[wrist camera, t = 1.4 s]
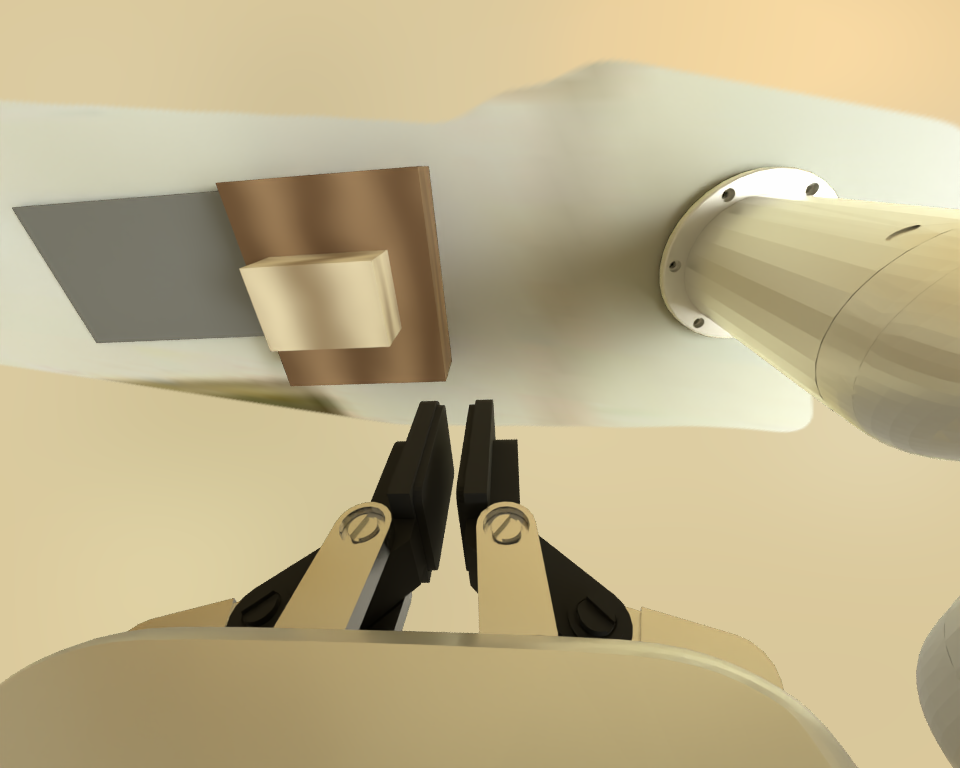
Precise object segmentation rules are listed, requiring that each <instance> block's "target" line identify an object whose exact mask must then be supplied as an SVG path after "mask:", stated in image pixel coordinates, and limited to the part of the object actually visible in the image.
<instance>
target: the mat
mask: <svg viewBox="0 0 960 768" xmlns="http://www.w3.org/2000/svg"><path fill="white" fill-rule="evenodd" d="M12 209H13V211H14V212H15V214H16V215H17V217H18V219H19V220H20V222H21V223H22V225H23V226H24V228H25V230H26V231H27V233H28V234H29V236H30V238H31V239H32V241H33V242H34V244H35V246H36V247H37V249H38V250H39V252H40V254H41V255H42V257H43V258H44V260H45V262H46V263H47V265H48V266H49V268H50V270H51V271H52V273H53V274H54V276H55V278H56V279H57V281H58V282H59V284H60V285H61V287H62V289H63V290H64V292H65V293H66V295H67V297H68V298H69V300H70V301H71V303H72V305H73V306H74V308H75V309H76V311H77V313H78V314H79V316H80V317H81V319H82V321H83V322H84V324H85V325H86V327H87V329H88V330H89V332H90V333H91V335H92V337H93V338H94V340H95V341H96V343H111V342H134V341H157V340H180V339H203V338H226V337H249V336H265V335H264V333H263V330H262V327H261V325H260V322H259V320H258V317H257V314H256V312H255V309H254V307H253V304H252V301H251V299H250V296H249V293H248V291H247V288H246V286H245V283H244V280H243V278H242V275H241V272H240V270H239V268H242V267H245V266H246V264H245V261H244V259H243V256H242V253H241V251H240V248H239V245H238V242H237V240H236V237H235V234H234V232H233V229H232V226H231V224H230V221H229V218H228V215H227V213H226V210H225V207H224V205H223V202H222V199H221V197H220V194H219V191H213V192H200V193H188V194H175V195H163V196H150V197H138V198H125V199H113V200H100V201H88V202H75V203H63V204H50V205H38V206H25V207H13V208H12Z"/></svg>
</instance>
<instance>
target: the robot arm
mask: <svg viewBox="0 0 960 768" xmlns="http://www.w3.org/2000/svg"><path fill="white" fill-rule="evenodd" d="M805 189H806V190H805ZM724 191H725V196H724V197H723V198H722V194H723V192H724ZM673 261H674V264H673V266H671V267H669V266H670V264H671V263H672V262H673ZM660 288H661V293H662V297H663V299H664V302H665V304H666V306H667V308H668V309H669V311H670V312H671V313H672V315H673V316H674V317H675V318H676V319H677V320H678V321H679V322H680V323H682V324H683V325H684V326H685V327H687V328H688V329H690V330H691V331H693V332H696V333H699V334H701V335H704V336H708V337H715V338H736V339H737V340H738V341H740V342H741V343H742V344H744V345H745V346H746V347H748V348H749V349H750V350H752V351H753V352H754V353H756V354H757V355H758V356H760V357H761V358H762V359H764V360H765V361H766V362H768V363H769V364H770V365H772V366H773V367H774V368H776V369H777V370H778V371H780V372H781V373H782V374H784V375H785V376H786V377H788V378H789V379H790V380H792V381H793V382H794V383H796V384H797V385H798V386H800V387H801V388H802V389H804V390H805V391H806V392H808V393H809V394H810V395H812V396H813V397H814V398H816V399H817V400H819V401H820V402H821V403H823V404H824V405H825V406H827V407H828V408H829V409H831V410H832V411H834V412H835V413H837V414H838V415H840V416H841V417H842V418H844V419H845V420H846V421H848V422H849V423H850V424H852V425H853V426H854V427H856V428H857V429H859V430H860V431H862V432H864V433H865V434H867V435H868V436H870V437H872V438H874V439H876V440H878V441H879V442H881V443H884V444H886V445H888V446H890V447H894V448H896V449H899V450H902V451H905V452H907V453H910V454H914V455H919V456H924V457H929V458H934V459H940V460H950V461H960V210H959V209H948V208H937V207H927V206H916V205H905V204H895V203H884V202H873V201H863V200H852V199H842V198H838V196H837V194H836V192H835V190H834V189H833V188H832V187H831V186H830V185H829V184H828V183H827V182H826V181H825V180H824V179H822V178H821V177H819V176H817V175H815V174H814V173H812V172H810V171H806V170H802V169H798V168H795V167H767V168H758V169H755V170H751V171H747V172H743V173H740V174H738V175H736V176H734V177H732V178H730V179H727V180H725V181H723V182H722V183H720V184H719V185H717V186H715V187H714V188H712V189H711V190H709V191H708V192H706V193H705V194H704V195H703V196H702V197H701V198H700V199H699V200H698V201H696V202H695V203H694V204H693V205H692V206H691V207H690V208H689V209H688V211H687V212H686V213H685V214H684V216H683V217H682V218H681V219H680V220H679V222H678V223H677V225H676V227H675V228H674V230H673V232H672V233H671V235H670V237H669V239H668V242H667V244H666V247H665V249H664V252H663V255H662V260H661V265H660ZM696 319H697V320H696ZM695 320H696V321H695ZM518 470H519V469H518V444H517V440H495V423H494V407H493V400H476V402H475V404H474V405H469V410H468V416H467V423H466V429H465V436H464V442H463V448H462V455H461V461H460V468H459V474H458V480H457V489H456V499H457V507H458V515H459V522H460V528H461V536H462V543H463V550H464V557H465V564H466V570H467V571H469V578H470V584H471V586H472V587H473V589H474V590H475V591H476V592H477V593H478V602H479V603H478V604H479V633H450V632H449V633H448V632H415V631H402V629H403V626H404V623H405V619H406V616H407V613H408V610H409V606H410V603H411V598H412V591H413V590H415V589H416V588H417V587H418V586H419V585H421V583H429V582H430V577H431V572H432V570H438V567H439V561H440V556H441V549H442V544H443V538H444V532H445V526H446V521H447V515H448V509H449V503H450V496H451V491H452V485H453V479H454V467H453V459H452V452H451V445H450V438H449V430H448V423H447V415H446V408H445V406H444V405H439V402H438V401H422V402H420V404H419V407H418V410H417V413H416V415H415V418H414V421H413V423H412V426H411V429H410V432H409V434H408V437H407V440H406V441H404V442H403V441H402V442H401V441H400V442H396V443H395V444H394V446H393V448H392V451H391V453H390V456H389V458H388V460H387V463H386V465H385V468H384V470H383V473H382V475H381V478H380V480H379V483H378V485H377V488H376V490H375V493H374V495H373V498H372V500H371V502H367V503H366V502H365V503H362V504H358V505H356V506H354V507H352V508H350V509H348V510H347V511H346V512H344V513H343V514H342V515H341V516H340V517H339V519H338V520H337V521H336V523H335V524H334V526H333V528H332V529H331V531H330V533H329V534H328V536H327V538H326V539H325V541H324V543H323V545H322V546H321V547H320V548H319V549H317V550H316V551H314V552H312V553H311V554H309V555H308V556H306V557H305V558H303V559H301V560H300V561H298V562H297V563H295V564H293V565H292V566H290V567H289V568H287V569H285V570H284V571H282V572H280V573H279V574H277V575H276V576H274V577H273V578H271V579H269V580H268V581H266V582H264V583H263V584H261V585H260V586H258V587H256V588H255V589H254V590H252V591H251V592H250V593H248V594H247V595H246V596H245V597H244V598H243V599H242V600H241V601H239V602H236V600H235V599H234V598H232V599H229V600H225V601H221V602H217V603H213V604H209V605H205V606H201V607H197V608H193V609H189V610H185V611H181V612H177V613H174V614H169V615H165V616H162V617H158V618H154V619H150V620H148V621H145V622H143V623H140V624H138V625H137V626H135V627H134V628H132V629H130V630H129V631H127V632H123V633H118V634H113V635H109V636H105V637H101V638H96V639H93V640H90V641H87V642H84V643H81V644H79V645H75V646H73V647H70V648H67V649H64V650H61V651H59V652H56V653H54V654H51V655H49V656H47V657H44V658H42V659H40V660H38V661H36V662H34V663H32V664H30V665H28V666H27V667H25V668H23V669H22V670H20V671H18V672H17V673H15V674H13V675H12V676H10V677H9V678H8V679H6V680H5V681H4V682H2V683H1V684H0V768H857V766H856V765H855V763H854V762H853V761H852V759H851V758H850V756H849V755H848V754H847V752H846V751H845V750H844V748H843V747H842V746H841V745H840V743H839V742H838V741H837V740H836V738H835V737H834V736H833V735H832V733H831V732H830V731H829V730H828V729H827V728H826V727H825V725H824V724H823V723H822V722H821V721H820V720H819V719H818V718H817V717H816V716H815V715H814V714H813V713H812V712H811V711H810V710H809V709H808V708H807V707H805V706H804V705H803V704H802V703H800V702H799V701H798V700H797V699H795V698H794V697H792V696H791V695H790V694H788V693H787V692H785V691H784V689H783V685H782V681H781V679H780V676H779V674H778V672H777V670H776V668H775V665H774V664H773V663H772V661H771V660H770V659H769V658H768V657H767V655H766V654H765V653H764V652H763V651H762V650H761V649H759V648H758V647H757V646H756V645H754V644H753V643H752V642H751V641H749V640H746V639H744V638H742V637H740V636H738V635H735V634H732V633H728V632H725V631H721V630H718V629H715V628H711V627H708V626H705V625H701V624H698V623H694V622H691V621H688V620H685V619H681V618H678V617H674V616H671V615H668V614H664V613H661V612H657V611H654V610H651V609H647V608H644V607H641V611H638V610H635V609H632V608H628V607H625V606H624V604H623V603H622V602H621V601H620V600H619V599H618V598H617V597H616V596H615V595H614V594H613V593H611V592H610V591H609V590H607V589H606V588H605V587H604V586H602V585H601V584H600V583H599V582H597V581H596V580H595V579H593V578H592V577H591V576H590V575H588V574H587V573H586V572H584V571H583V570H582V569H581V568H580V567H578V566H577V565H576V564H574V563H573V562H572V561H571V560H569V559H568V558H567V557H566V556H564V555H563V554H562V553H560V552H559V551H558V550H557V549H555V548H554V547H553V546H551V545H550V544H549V543H548V542H546V541H545V540H544V539H542V538H541V537H540V536H539V535H538V531H537V526H536V521H535V519H534V516H533V515H532V513H531V512H530V511H529V510H528V509H527V508H525V507H524V506H522V505H520V495H519V471H518ZM916 677H917V678H916V679H917V689H918V695H919V700H920V704H921V707H922V710H923V713H924V716H925V718H926V721H927V723H928V725H929V727H930V729H931V731H932V733H933V735H934V737H935V739H936V741H937V743H938V744H939V746H940V748H941V749H942V751H943V753H944V754H945V756H946V758H947V759H948V761H949V762H950V764H951V765H952V767H953V768H960V596H959V597H958V598H957V599H956V600H955V602H954V603H953V604H952V606H951V607H950V608H949V609H948V611H947V612H946V613H945V614H944V615H943V616H942V617H941V618H940V619H939V621H938V622H937V623H936V625H935V626H934V627H933V629H932V630H931V632H930V633H929V635H928V636H927V638H926V640H925V641H924V644H923V646H922V649H921V651H920V654H919V659H918V664H917V670H916Z"/></svg>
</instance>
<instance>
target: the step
mask: <svg viewBox="0 0 960 768" xmlns="http://www.w3.org/2000/svg"><path fill="white" fill-rule="evenodd" d="M216 186H217V188H218V191H219V194H220V197H221V199H222V202H223V205H224V207H225V210H226V213H227V215H228V218H229V221H230V224H231V226H232V229H233V232H234V234H235V237H236V240H237V242H238V245H239V248H240V251H241V253H242V256H243V259H244V261H245V264H246V266H247V265H250V264H253V263H255V262H258V261H260V260H263V259H266V258H268V257H281V256H297V255H313V254H329V253H345V252H361V251H377V250H387V251H388V256H389V262H390V267H391V273H392V278H393V283H394V289H395V294H396V300H397V305H398V311H399V316H400V322H401V327H402V328H401V330H400V332H399V333H398V335H397V336H396V338H395V339H394V341H393V342H392V344H391V345H390V347H371V348H346V349H320V350H295V351H278V353H279V356H280V358H281V361H282V364H283V367H284V369H285V372H286V375H287V377H288V380H289V383H290V385H291V386H311V385H343V384H375V383H408V382H440V381H446V379H447V376H448V372H449V369H450V365H451V362H452V358H451V350H450V341H449V333H448V324H447V316H446V308H445V299H444V291H443V282H442V274H441V266H440V257H439V249H438V240H437V232H436V224H435V215H434V207H433V198H432V190H431V182H430V173H429V166H416V167H404V168H392V169H380V170H367V171H355V172H343V173H331V174H319V175H306V176H294V177H282V178H270V179H258V180H245V181H233V182H221V183H216Z"/></svg>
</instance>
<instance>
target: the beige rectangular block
mask: <svg viewBox="0 0 960 768" xmlns="http://www.w3.org/2000/svg"><path fill="white" fill-rule="evenodd" d="M239 270H240V272H241V275H242V278H243V280H244V283H245V286H246V288H247V291H248V293H249V296H250V299H251V301H252V304H253V307H254V309H255V312H256V314H257V317H258V320H259V322H260V325H261V327H262V330H263V333H264V335H265V338H266V341H267V343H268V346H269V348H270V351H295V350H320V349H346V348H371V347H390V345H391V344H392V342H393V341H394V339H395V338H396V336H397V335H398V333H399V332H400V330H401V328H402V327H401V322H400V316H399V311H398V305H397V300H396V294H395V289H394V283H393V278H392V273H391V267H390V262H389V256H388V251H387V250H377V251H361V252H345V253H329V254H313V255H297V256H281V257H268V258H266V259H263V260H260V261H258V262H255V263H253V264H250V265H247V266H245V267H242V268H239Z"/></svg>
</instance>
